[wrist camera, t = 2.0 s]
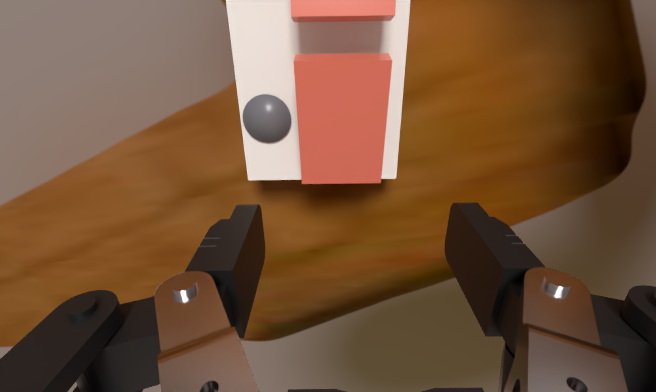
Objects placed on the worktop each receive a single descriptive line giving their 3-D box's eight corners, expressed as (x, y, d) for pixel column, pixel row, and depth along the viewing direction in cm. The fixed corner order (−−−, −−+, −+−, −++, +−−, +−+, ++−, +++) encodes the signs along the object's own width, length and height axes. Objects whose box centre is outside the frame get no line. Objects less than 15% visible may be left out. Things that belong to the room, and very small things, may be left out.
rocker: (388, 53, 22) (392, 60, 21) (378, 171, 28) (380, 183, 26) (295, 54, 22) (293, 61, 21) (303, 172, 28) (301, 184, 26)
